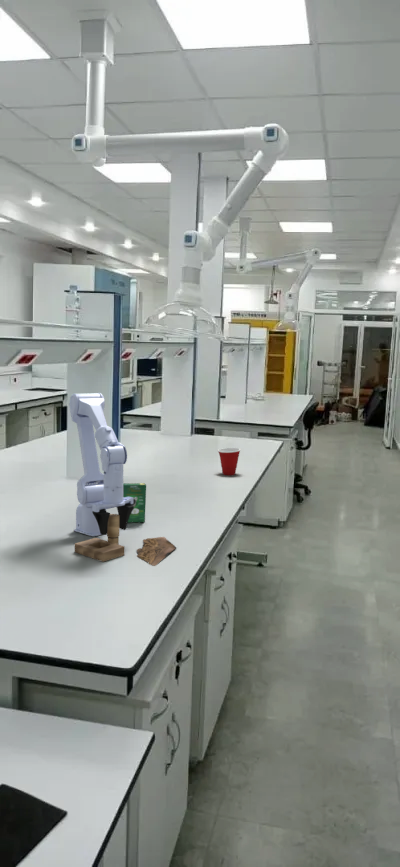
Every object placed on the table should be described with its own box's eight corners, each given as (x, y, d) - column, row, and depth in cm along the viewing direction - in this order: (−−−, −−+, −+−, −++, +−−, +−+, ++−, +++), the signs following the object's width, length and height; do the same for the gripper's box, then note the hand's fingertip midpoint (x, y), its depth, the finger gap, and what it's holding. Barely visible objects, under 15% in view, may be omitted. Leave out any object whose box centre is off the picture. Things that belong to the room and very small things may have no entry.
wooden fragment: (145, 537, 201) (145, 534, 201) (180, 539, 200) (180, 536, 200) (129, 565, 176) (129, 562, 175) (169, 568, 175) (169, 564, 175)
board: (74, 552, 185) (74, 543, 184) (96, 545, 191) (96, 537, 191) (103, 561, 177) (103, 552, 177) (124, 555, 183) (124, 546, 183)
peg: (104, 545, 192) (104, 515, 191) (113, 542, 195) (113, 513, 193) (112, 547, 190) (112, 517, 188) (121, 545, 192) (122, 515, 191)
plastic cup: (215, 471, 307) (216, 446, 305) (238, 472, 308) (239, 447, 306) (218, 476, 296) (218, 450, 294) (241, 476, 297) (242, 450, 295)
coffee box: (144, 520, 220) (144, 482, 218) (145, 522, 217) (146, 484, 216) (120, 521, 218) (121, 482, 216) (121, 523, 215) (122, 484, 214)
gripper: (104, 492, 182) (103, 539, 183) (140, 484, 193) (140, 529, 194) (87, 488, 186) (87, 534, 188) (124, 481, 197) (124, 524, 199)
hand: (113, 531), depth 191 cm, fingers open, 7 cm apart
